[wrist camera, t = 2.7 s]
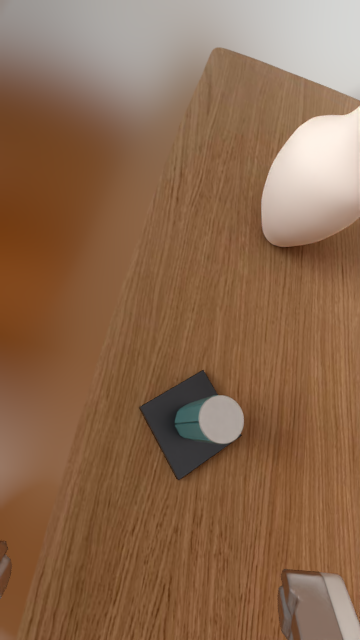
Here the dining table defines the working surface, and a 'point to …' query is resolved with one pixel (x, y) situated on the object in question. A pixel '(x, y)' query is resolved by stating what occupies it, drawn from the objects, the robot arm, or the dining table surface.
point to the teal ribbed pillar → (210, 420)
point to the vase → (314, 182)
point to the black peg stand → (162, 424)
